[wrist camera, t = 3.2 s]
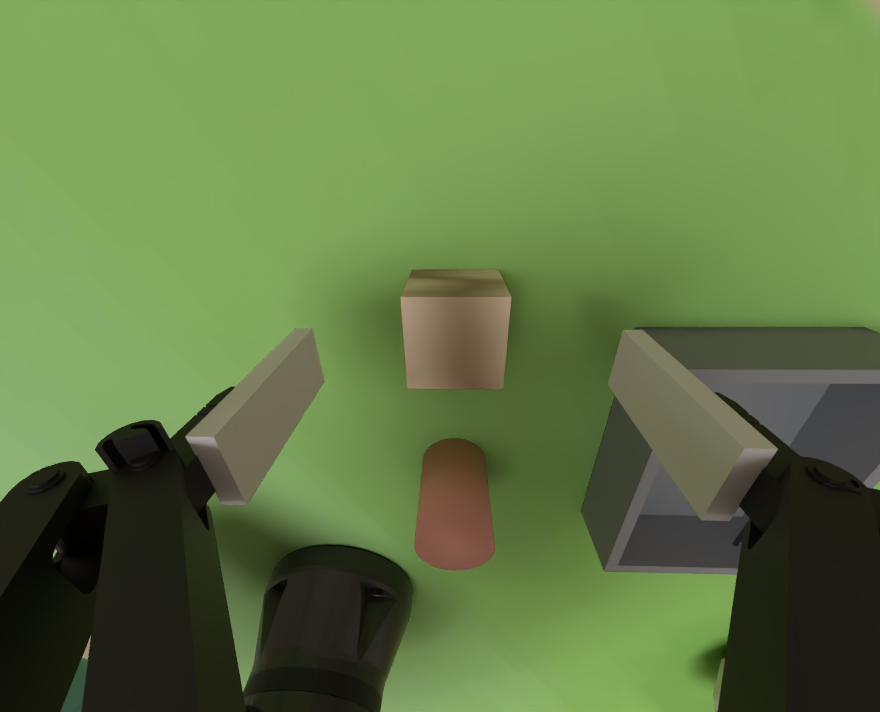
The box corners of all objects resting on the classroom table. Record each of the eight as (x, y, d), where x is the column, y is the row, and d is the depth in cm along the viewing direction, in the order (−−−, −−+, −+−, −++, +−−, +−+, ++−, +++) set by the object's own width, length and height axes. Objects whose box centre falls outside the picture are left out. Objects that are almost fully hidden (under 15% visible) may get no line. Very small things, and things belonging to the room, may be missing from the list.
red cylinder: (424, 482, 28) (416, 569, 22) (421, 438, 25) (412, 521, 19) (483, 483, 28) (492, 571, 22) (486, 438, 25) (497, 523, 19)
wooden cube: (416, 345, 22) (407, 388, 17) (412, 269, 19) (400, 297, 15) (492, 345, 22) (502, 389, 17) (498, 268, 19) (511, 296, 15)
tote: (740, 514, 28) (793, 575, 24) (581, 511, 29) (604, 571, 25) (863, 327, 20) (979, 370, 16) (634, 327, 20) (684, 369, 16)
